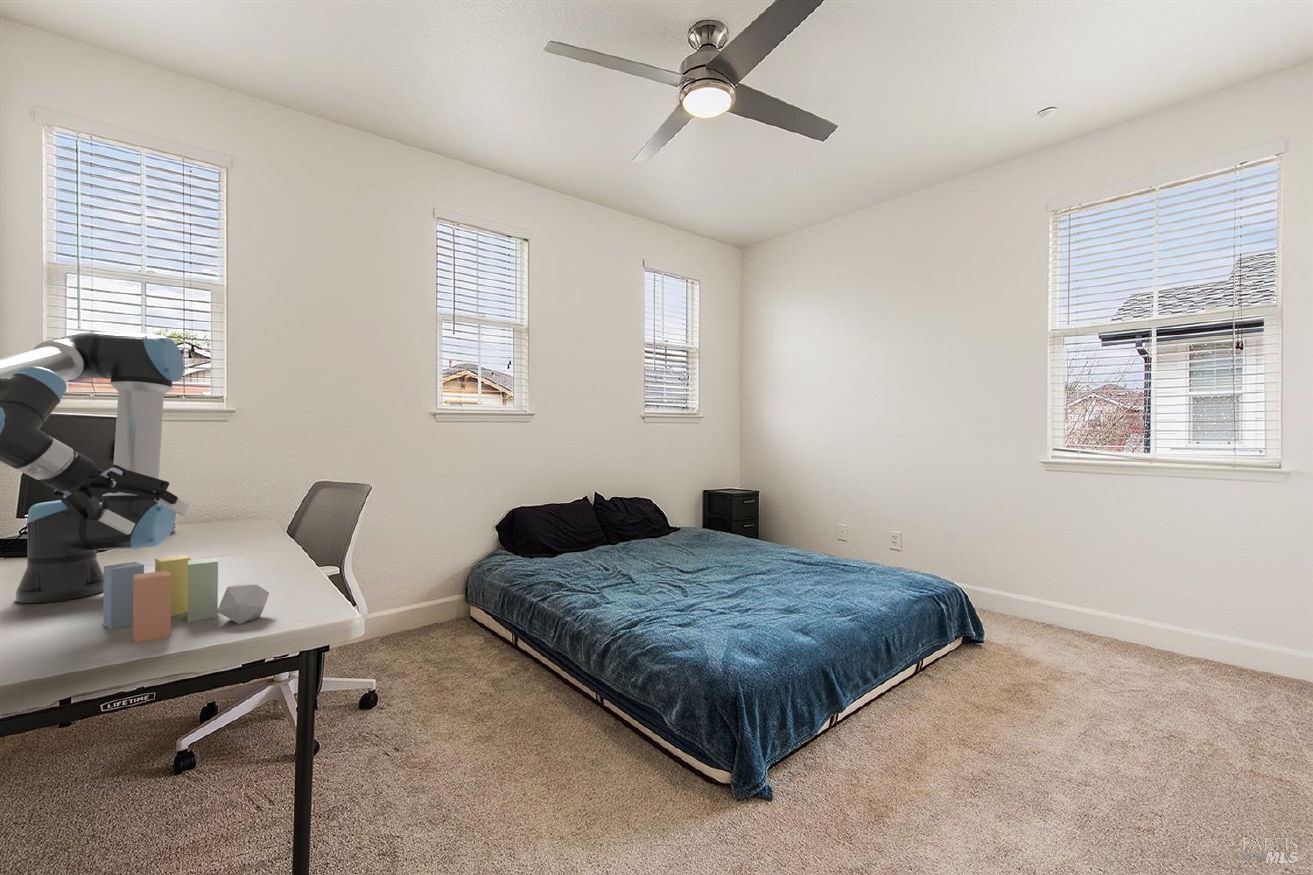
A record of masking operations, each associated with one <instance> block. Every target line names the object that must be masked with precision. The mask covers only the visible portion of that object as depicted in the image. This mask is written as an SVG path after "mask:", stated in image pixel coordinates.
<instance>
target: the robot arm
mask: <svg viewBox="0 0 1313 875" xmlns="http://www.w3.org/2000/svg"><path fill="white" fill-rule="evenodd" d="M184 372H185V362H184V359H183V355H182V351H181V350H180V348H179V347H178V345H177V343H176V342H175V341H174V340H172V338H170V337H168V336H165V335H156V334H151V333H123V332H120V333H119V332H105V331H93V332H82V333H77V334H73V335H72V334H70V335H66V336H62V337H58V338H55V339H50V340H47V341H43V342H40V343H38V344H36V345H35V346H34V348H33V349H30V350H26V351H23V352H20V353H16V354H11V355H8V356H4V357H1V358H0V462H1V463H3V464H4V465H5V464H6V465H7V466H9V467H11V468H13V469H16V470H17V471H19V472H21V473H23V474H25V475H28V476H29V477H31V478H33V479H35V480H38V481H39V480H40V481H41V483H42V484H44V485H46V486H48V487H50V488H52V489H54V490H53V492H52V493H51V496H52V497H53V498H55V499H56V500H53V501H45V502H40V503H35V504H33V505H31V507H29V509H28V512H27V513H28V514H27V518H26V519H27V520H26V522H25V523H26V524H25V525H26V526H27V527H26V528H27V537H26V540H27V541H26V542H27V543H26V544H27V550H26V551H27V566H26V569H25V572H24V573H23V576H22V578H21V579H20V582H19V585H18V586H17V589H16V592H15V601H16V602H17V603H21V604H39V603H40V604H43V603H54V602H60V601H61V602H62V601H68V600H73V599H79V598H84V597H88V596H93V595H96V594H99V593H102V592H104V570H102V567H101V565H100V564H99V561H98V551H103V550H106V551H108V550H129V549H133V550H139V549H147V548H155V547H158V546H160V545H162V544H163V543H164V542H165V541H166V540H167V539H168V537H169V536H170V535H171V533H172V531H173V529H174V526H175V522H176V517H177V514H178V516H179V515H180V516H181V517H183V516H185V515H186V513H187V510H188V509H189V506H190V504H188V503H186V502H185V501H183V500H181V499H180V498H179V497H178V496H177V495H175V494H173V493H172V492H170V491H168V488H169V486H170V484H171V483H170V482H169V481H167V480H163V479H160V464H161V463H160V462H161V451H162V450H161V448H162V446H161V445H162V432H163V431H162V428H163V415H164V413H163V412H164V399H165V398H164V397H165V394H167V393H169V392H170V391H172V389H173V382H175V383H176V382H177V381H180V380H181V379H182V378H183V375H184ZM88 378H89V379H106V380H107V379H108V380H110V385H111V387H112V388H114V389H115V390H116V391H117V404H116V405H117V407H116V408H117V409H116V420H115V421H116V422H115V434H114V436H115V438H114V453H113V464H112V465H111V466H110V467H109V469H107V470H103V469H100V468H97V466H96V463H95V460H93V459H91V458H89V457H87V456H85V455H84V454H82V453H80V452H79V451H74V449H73V448H72V447H70V446H68V445H67V444H65V443H63V442H62V441H60V440H58V439H56V438H54V437H52V436H51V435H48V434H47V433H46V432H44V431H43V430H41V427H42V426H43V425H44V423H45V422H46V421H47V420H48V419H49V417H50V415H51V414H52V413H53V411H54V410H55V409H56V407H57V406H58V405H59V404H60V403H61V401H62V398H63V396H64V394H65V393H66V391H67V383H66V381H71V380H75V379H88ZM101 496H102V501H99V497H101Z"/></svg>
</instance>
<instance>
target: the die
mask: <svg viewBox="0 0 1313 875" xmlns="http://www.w3.org/2000/svg"><path fill="white" fill-rule="evenodd" d="M269 596H270V592H269V591H267V590H266V589H265V588H263V587H261V586H259V585H258V584H256V583H255V582H252V581H249V580H245V581H242V582H239V583H234V584H233V585H230V586H226V589H225V591H224V594H223V596H222V598H221V601H220V603H219V606H218V610H217V612H218V614H221V615H222V616H223V617H225V618H228V619H229V620H231V621H233V622H234V623H236V624H239V625H242V624H245V623H247V622H249V621H252V620H254V619H257V618H260V617H261V615H262V613H263V611H264V608H265V606H266V603H267V601H268V598H269Z"/></svg>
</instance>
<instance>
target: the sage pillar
mask: <svg viewBox="0 0 1313 875" xmlns="http://www.w3.org/2000/svg"><path fill="white" fill-rule="evenodd" d="M218 592H219V560H218V557H210V558H200V559H198V558H197V559H190V560H188V613H187V616H186V617H187V618H186V619H187V623H188V622H189V623H190V622H196V621H202V620H210V619H214V618H215V619H217V618H218V615H219V613H218V612H217V610H218V607H219V606H218V603H219V602H218V601H219V598H218V597H219V595H218V594H219V593H218Z"/></svg>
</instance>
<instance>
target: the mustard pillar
mask: <svg viewBox="0 0 1313 875" xmlns="http://www.w3.org/2000/svg"><path fill="white" fill-rule="evenodd" d="M188 560H192V559H191V557H190V556H187V555H185V554H180V555H179V554H178V555H172V556H171V555H170V556H165V557H158V558H157V557H156V558H154V572H159V571H168V572H169V573H170V574H171V617H172V616H177V615H183V614H188Z"/></svg>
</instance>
